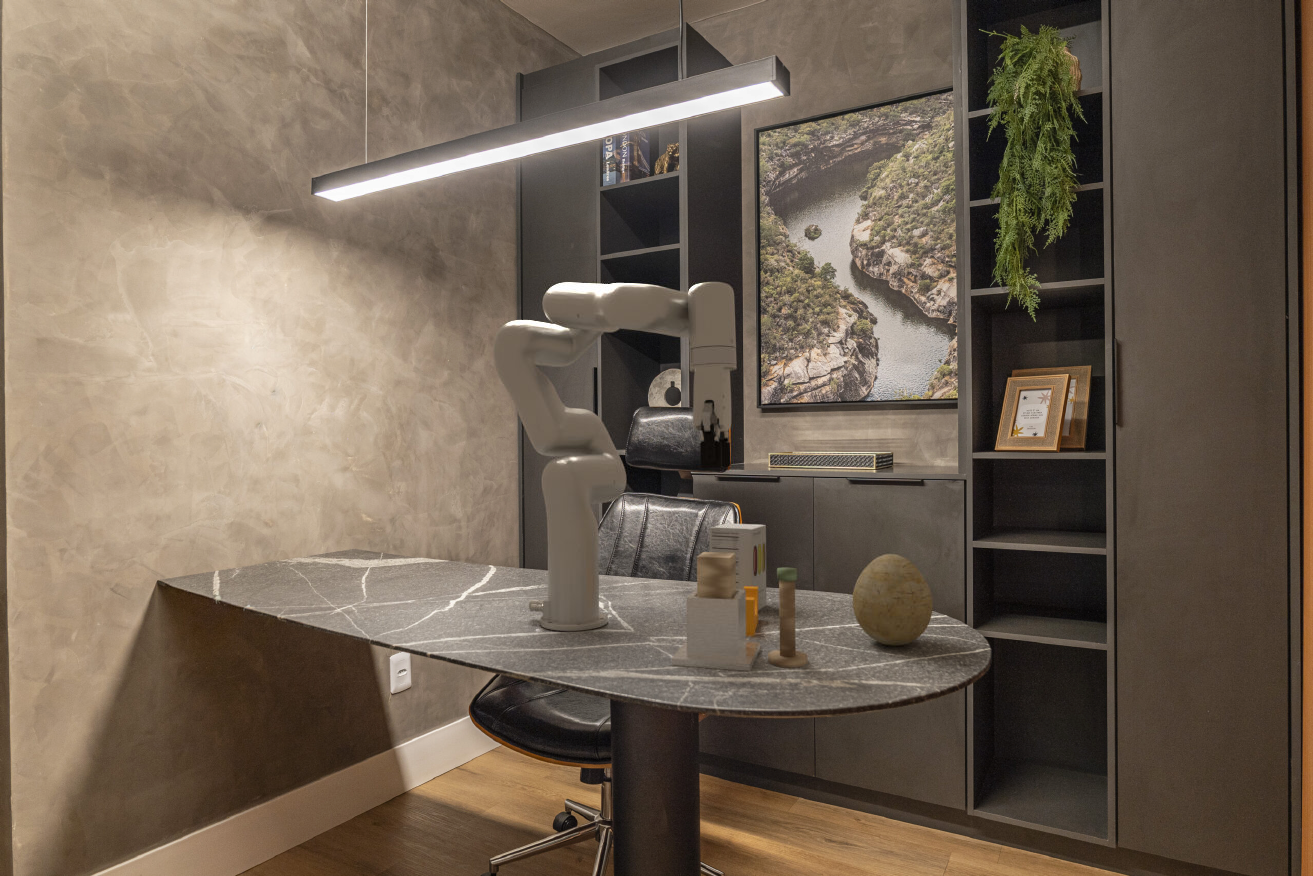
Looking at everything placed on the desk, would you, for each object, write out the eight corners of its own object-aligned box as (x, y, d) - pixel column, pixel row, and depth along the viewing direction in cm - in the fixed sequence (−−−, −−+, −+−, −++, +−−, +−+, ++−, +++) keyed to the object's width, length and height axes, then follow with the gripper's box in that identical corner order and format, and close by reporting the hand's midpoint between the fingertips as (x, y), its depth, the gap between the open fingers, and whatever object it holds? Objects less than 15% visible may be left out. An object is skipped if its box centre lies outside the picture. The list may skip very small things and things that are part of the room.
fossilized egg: (872, 630, 134) (872, 546, 134) (944, 642, 126) (943, 553, 126) (839, 645, 124) (838, 555, 124) (914, 660, 116) (914, 563, 116)
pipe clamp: (735, 619, 144) (735, 586, 144) (758, 620, 143) (758, 586, 143) (729, 635, 132) (729, 599, 132) (754, 636, 131) (753, 599, 131)
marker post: (765, 666, 113) (765, 571, 113) (770, 655, 119) (769, 565, 119) (806, 668, 112) (805, 573, 112) (808, 657, 118) (808, 566, 118)
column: (696, 653, 116) (695, 556, 116) (703, 644, 122) (702, 551, 122) (731, 655, 115) (730, 558, 115) (737, 646, 120) (736, 552, 120)
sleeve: (671, 665, 114) (670, 599, 114) (688, 644, 126) (687, 584, 126) (750, 671, 111) (749, 603, 111) (760, 649, 123) (759, 587, 123)
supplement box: (752, 615, 146) (752, 529, 146) (708, 611, 150) (708, 527, 150) (767, 605, 155) (766, 524, 155) (725, 601, 159) (724, 522, 159)
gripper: (699, 367, 130) (702, 466, 130) (679, 355, 113) (682, 469, 113) (742, 365, 128) (746, 465, 128) (728, 352, 111) (732, 467, 111)
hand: (716, 467), depth 120 cm, fingers open, 9 cm apart
